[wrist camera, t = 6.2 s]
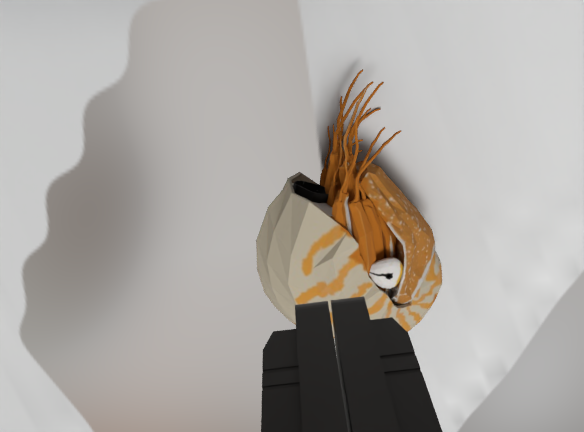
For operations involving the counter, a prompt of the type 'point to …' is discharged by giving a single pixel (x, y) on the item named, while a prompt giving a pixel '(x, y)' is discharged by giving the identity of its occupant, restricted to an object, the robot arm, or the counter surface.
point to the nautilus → (349, 237)
